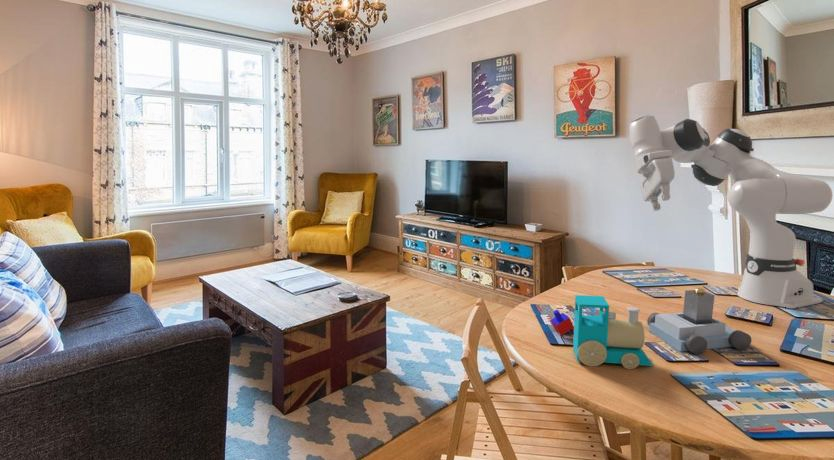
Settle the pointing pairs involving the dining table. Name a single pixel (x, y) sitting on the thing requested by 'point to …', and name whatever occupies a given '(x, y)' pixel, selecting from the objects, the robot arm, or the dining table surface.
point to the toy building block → (562, 323)
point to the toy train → (607, 336)
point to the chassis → (695, 333)
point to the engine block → (698, 306)
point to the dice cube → (611, 314)
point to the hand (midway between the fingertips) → (661, 205)
